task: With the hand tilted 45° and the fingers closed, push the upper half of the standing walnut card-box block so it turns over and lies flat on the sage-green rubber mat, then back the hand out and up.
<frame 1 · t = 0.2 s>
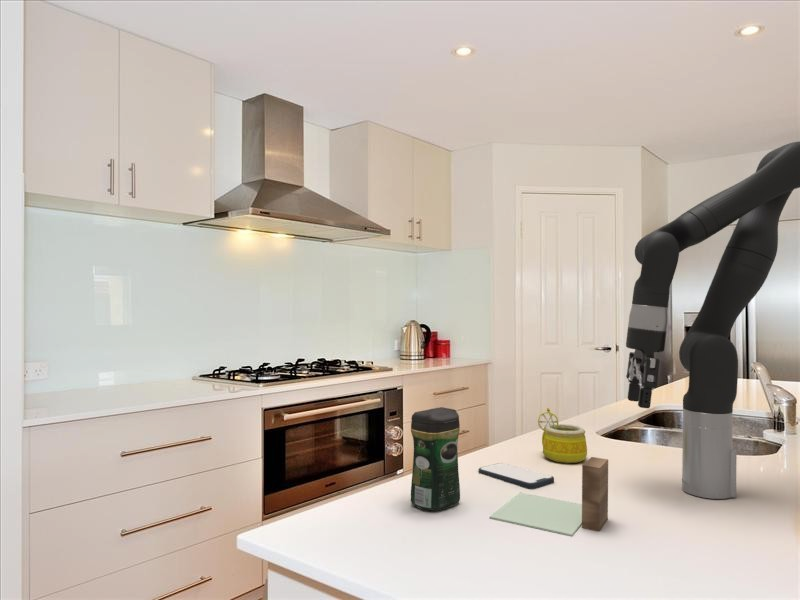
hand: (638, 404, 123), 18 cm above the worktop, tool pointing down, fingers open, 8 cm apart
coffee jar: (434, 505, 114), on the worktop
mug: (561, 459, 148), on the worktop
mat: (543, 512, 109), on the worktop
smartphone: (515, 479, 131), on the worktop
walnut block: (595, 523, 104), on the worktop
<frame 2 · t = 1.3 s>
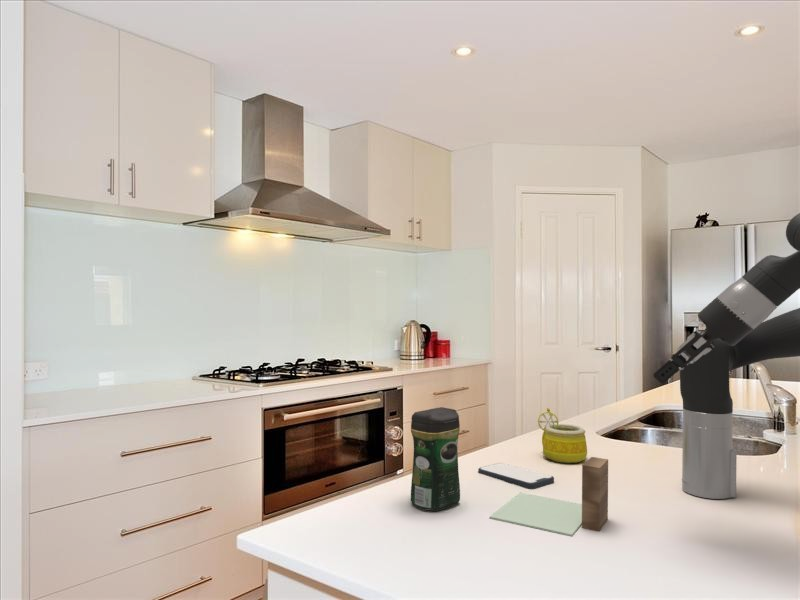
hand: (660, 377, 102), 26 cm above the worktop, tool tilted 45°, fingers open, 7 cm apart
nothing on the worktop moved.
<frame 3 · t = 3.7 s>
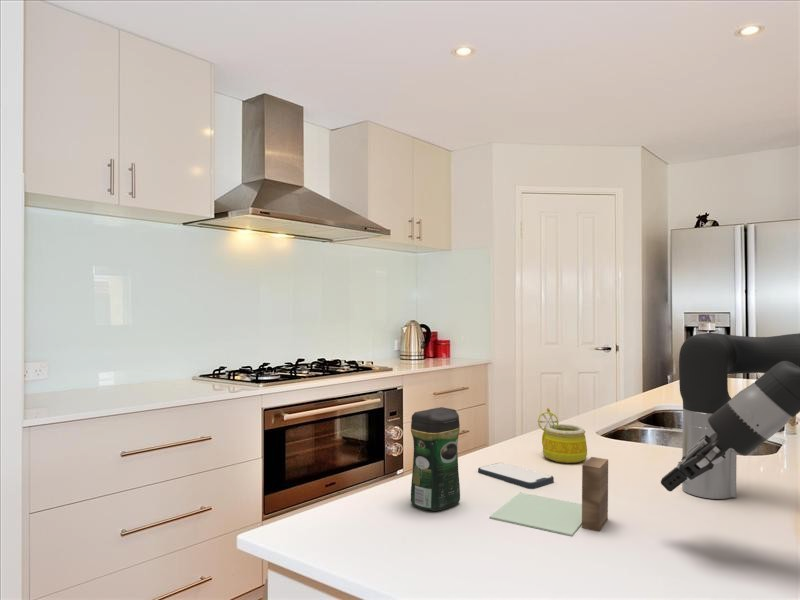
hand: (665, 485, 97), 9 cm above the worktop, tool tilted 45°, fingers closed
nothing on the worktop moved.
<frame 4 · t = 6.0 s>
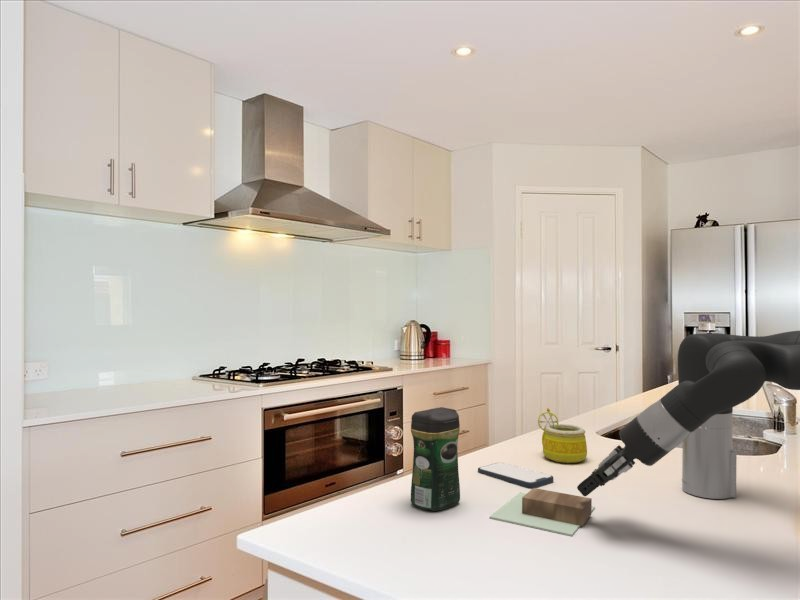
hand: (581, 491, 105), 5 cm above the worktop, tool tilted 45°, fingers closed
walnut block: (587, 511, 105), point 2 cm above the worktop, tilted 90°, touching mat
everything else where it was.
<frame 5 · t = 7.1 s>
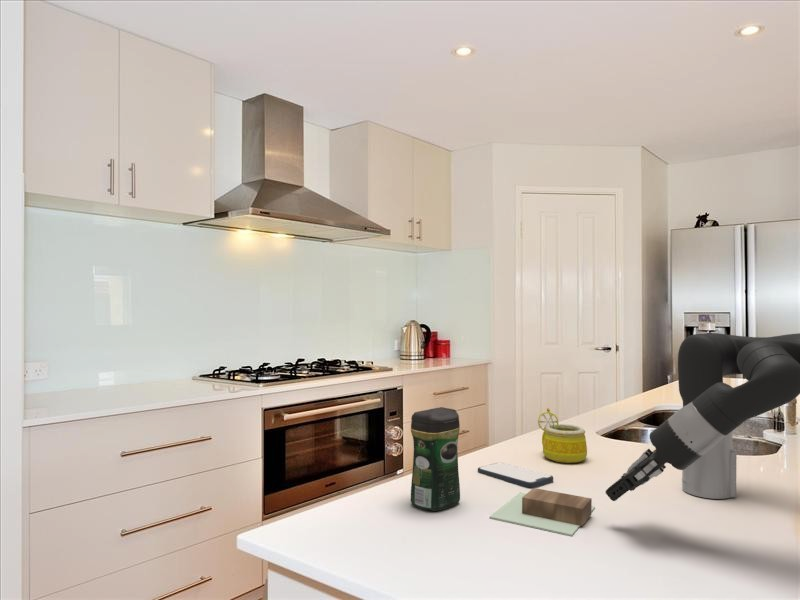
hand: (609, 495, 103), 5 cm above the worktop, tool tilted 45°, fingers closed
nothing on the worktop moved.
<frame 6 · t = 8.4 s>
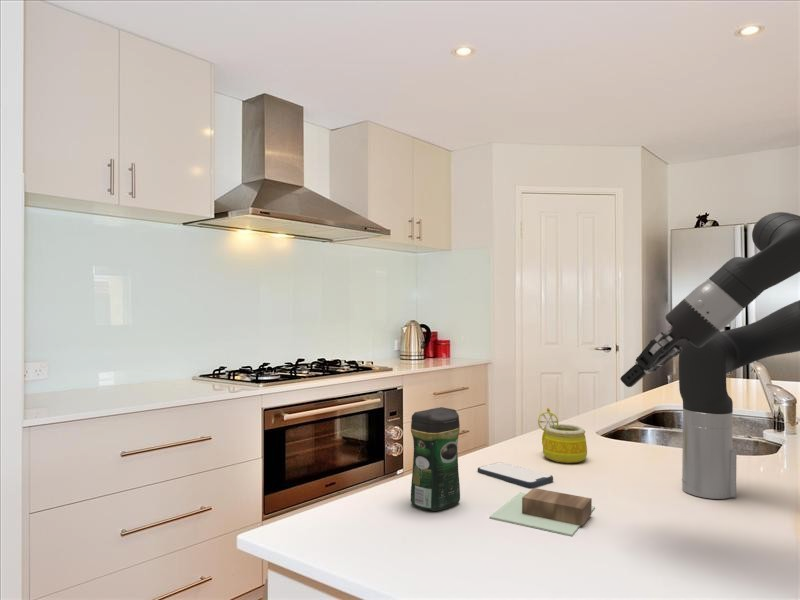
hand: (624, 383, 102), 25 cm above the worktop, tool tilted 45°, fingers closed
nothing on the worktop moved.
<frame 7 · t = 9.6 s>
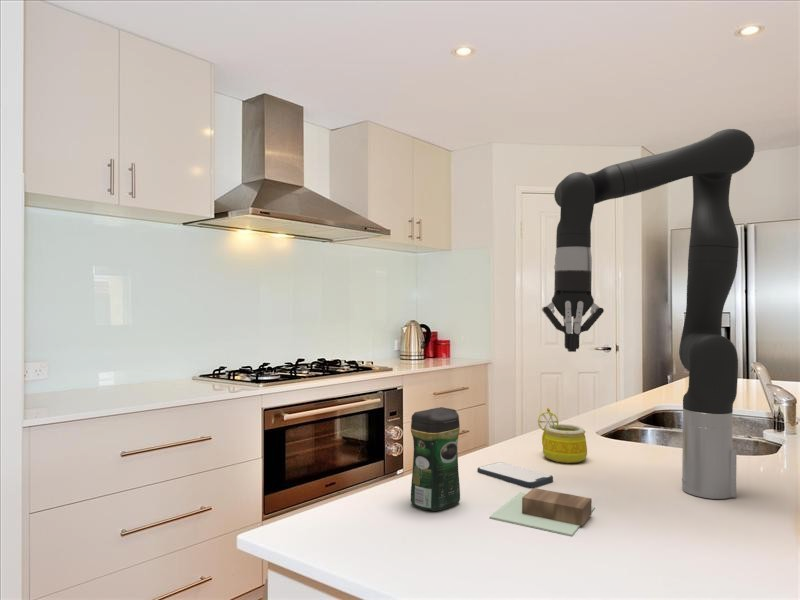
hand: (571, 351, 123), 29 cm above the worktop, tool pointing down, fingers closed
nothing on the worktop moved.
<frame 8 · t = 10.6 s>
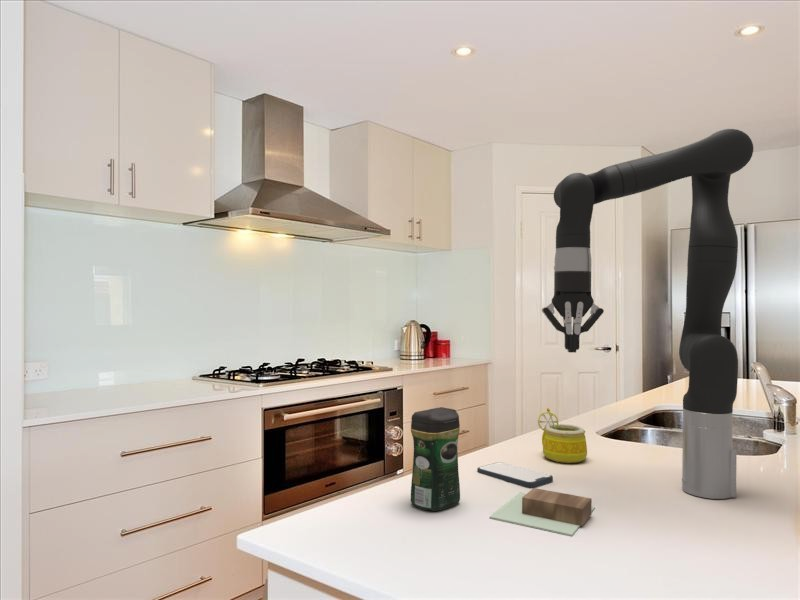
hand: (572, 352, 123), 29 cm above the worktop, tool pointing down, fingers closed
nothing on the worktop moved.
at the end: walnut block tilted 90°; walnut block touching mat; walnut block inside the target area (2.7 cm from its centre), point 1.8 cm above the worktop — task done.
